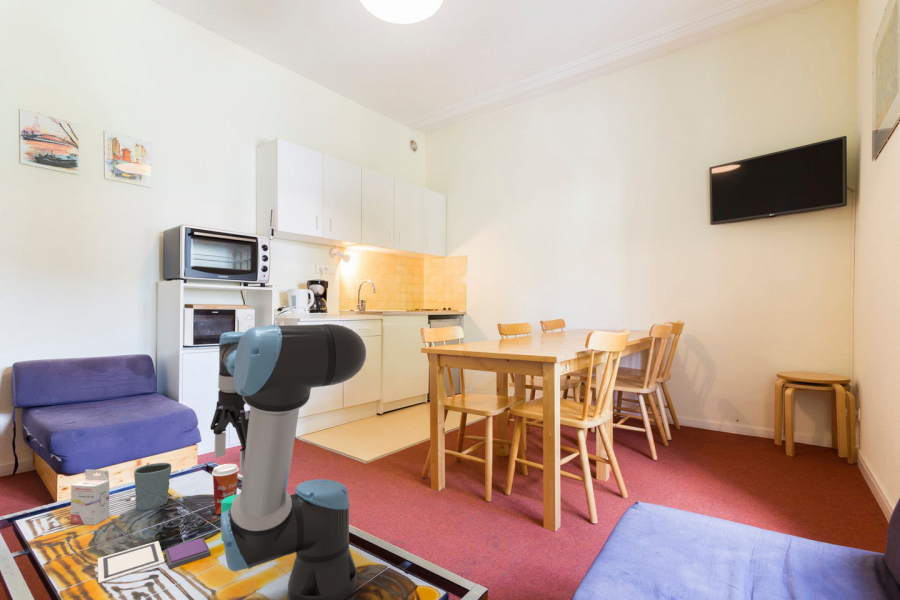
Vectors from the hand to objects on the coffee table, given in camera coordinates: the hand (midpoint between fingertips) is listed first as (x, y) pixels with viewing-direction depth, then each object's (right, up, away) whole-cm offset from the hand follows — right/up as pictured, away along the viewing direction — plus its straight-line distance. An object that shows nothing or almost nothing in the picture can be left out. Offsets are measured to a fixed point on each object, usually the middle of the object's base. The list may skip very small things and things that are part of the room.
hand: (232, 463), depth 120 cm
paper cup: (-11, -22, +17) cm, 30 cm away
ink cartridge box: (-49, -22, +12) cm, 56 cm away
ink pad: (-8, -21, -7) cm, 24 cm away
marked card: (-21, -21, -10) cm, 31 cm away
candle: (-1, -21, +2) cm, 22 cm away
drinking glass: (-38, -22, +23) cm, 50 cm away
